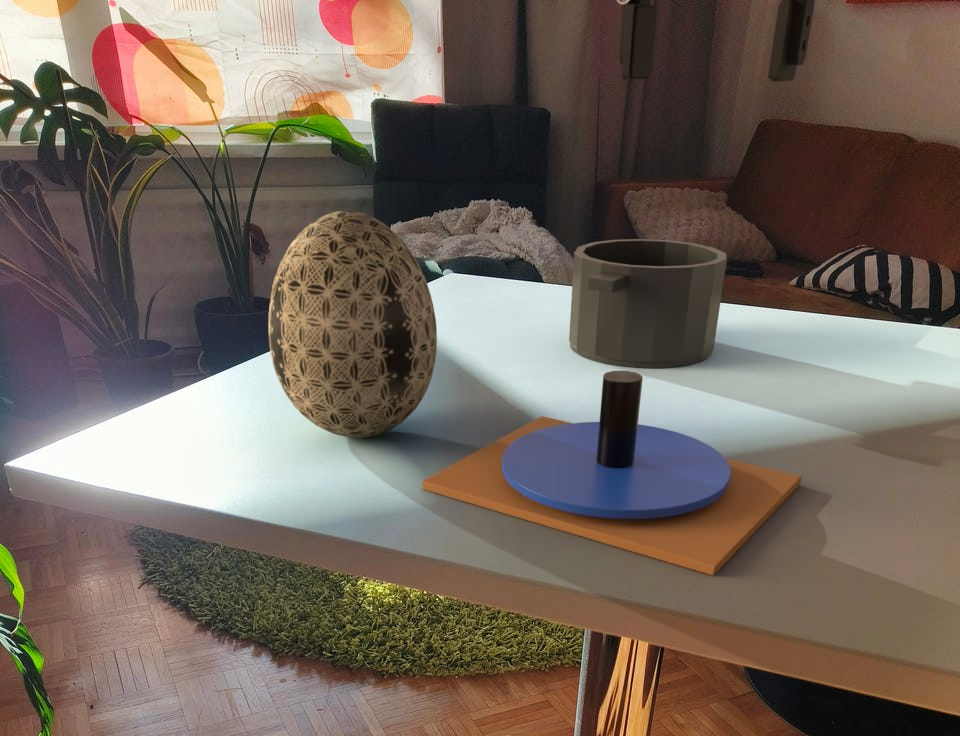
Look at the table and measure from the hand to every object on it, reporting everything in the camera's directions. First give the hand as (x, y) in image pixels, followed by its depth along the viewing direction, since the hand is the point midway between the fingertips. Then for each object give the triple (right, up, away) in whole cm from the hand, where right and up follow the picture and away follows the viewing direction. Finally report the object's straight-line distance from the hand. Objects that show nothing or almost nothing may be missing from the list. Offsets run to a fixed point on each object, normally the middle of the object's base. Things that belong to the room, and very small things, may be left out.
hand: (706, 79), depth 57 cm
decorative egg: (-23, -20, +10) cm, 33 cm away
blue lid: (-6, -25, +1) cm, 25 cm away
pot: (+1, -7, +29) cm, 30 cm away
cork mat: (-6, -26, +2) cm, 26 cm away
